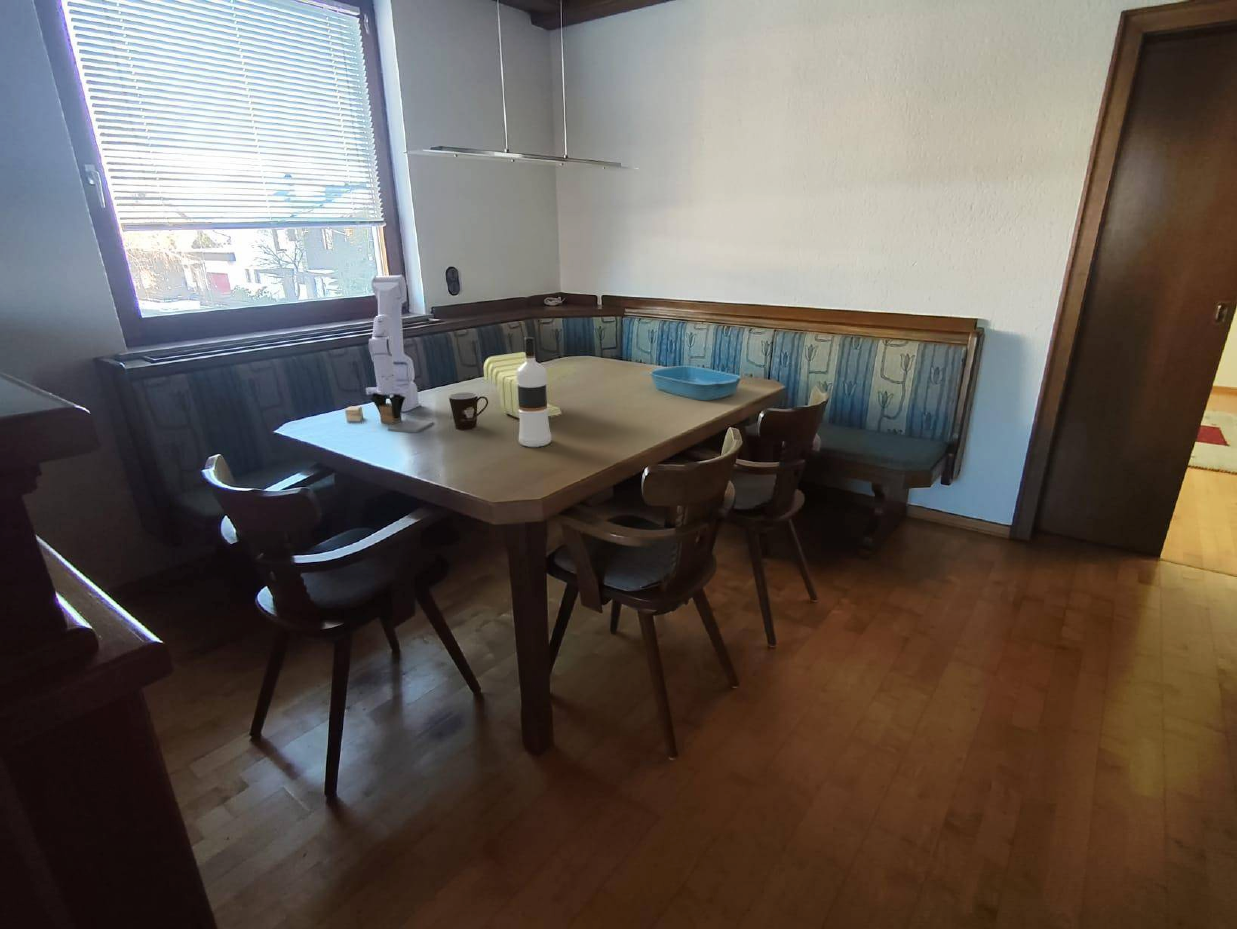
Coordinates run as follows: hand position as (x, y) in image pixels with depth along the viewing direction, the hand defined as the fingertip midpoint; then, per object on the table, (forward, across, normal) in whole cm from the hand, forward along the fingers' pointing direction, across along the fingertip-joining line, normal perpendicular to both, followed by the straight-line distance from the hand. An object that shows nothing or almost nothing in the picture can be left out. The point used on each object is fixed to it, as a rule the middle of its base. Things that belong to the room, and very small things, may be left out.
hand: (390, 417), depth 208 cm
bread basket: (+2, +40, +19) cm, 44 cm away
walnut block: (+2, 0, 0) cm, 2 cm away
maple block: (+2, -13, -1) cm, 13 cm away
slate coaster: (+1, +10, -4) cm, 11 cm away
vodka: (+2, +54, -9) cm, 55 cm away
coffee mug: (+2, +28, +1) cm, 28 cm away
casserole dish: (+2, +86, +64) cm, 107 cm away
